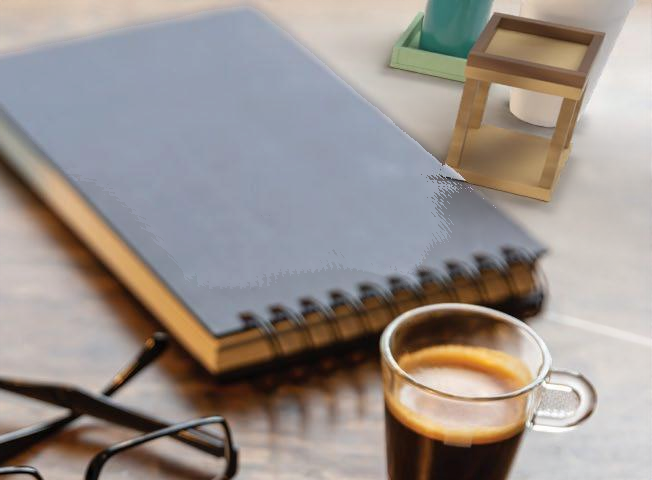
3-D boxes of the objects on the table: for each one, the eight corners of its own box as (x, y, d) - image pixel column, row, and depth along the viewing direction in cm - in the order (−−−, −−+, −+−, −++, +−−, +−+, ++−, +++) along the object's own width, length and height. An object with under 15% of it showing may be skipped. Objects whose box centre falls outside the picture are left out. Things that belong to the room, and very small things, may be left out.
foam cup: (470, 107, 120) (504, -33, 112) (529, 78, 125) (566, -60, 116) (561, 146, 115) (604, 2, 106) (619, 114, 119) (664, -27, 110)
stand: (569, 153, 114) (606, 32, 106) (549, 202, 108) (586, 77, 100) (465, 130, 117) (494, 11, 110) (440, 176, 111) (468, 53, 104)
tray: (507, 48, 129) (512, 29, 128) (485, 86, 123) (490, 66, 122) (415, 30, 133) (419, 11, 131) (389, 66, 126) (393, 47, 125)
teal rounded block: (486, 47, 129) (506, -35, 123) (472, 71, 125) (491, -12, 119) (426, 35, 131) (442, -46, 125) (409, 58, 127) (426, -24, 121)
